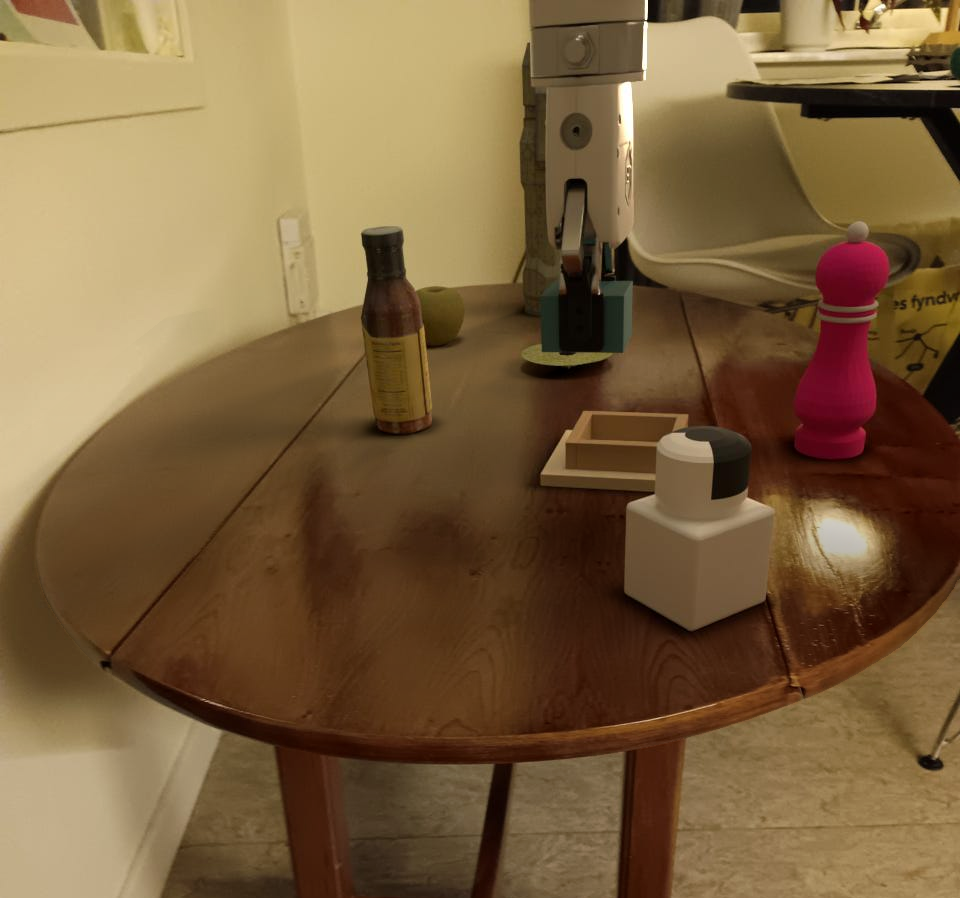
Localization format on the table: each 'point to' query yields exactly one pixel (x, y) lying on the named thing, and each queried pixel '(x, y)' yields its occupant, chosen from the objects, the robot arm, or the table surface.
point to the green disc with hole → (561, 357)
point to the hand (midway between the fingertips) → (587, 337)
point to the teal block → (614, 316)
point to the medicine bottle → (699, 531)
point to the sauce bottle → (394, 337)
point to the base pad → (610, 451)
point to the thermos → (535, 195)
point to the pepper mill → (841, 350)
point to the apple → (440, 314)
